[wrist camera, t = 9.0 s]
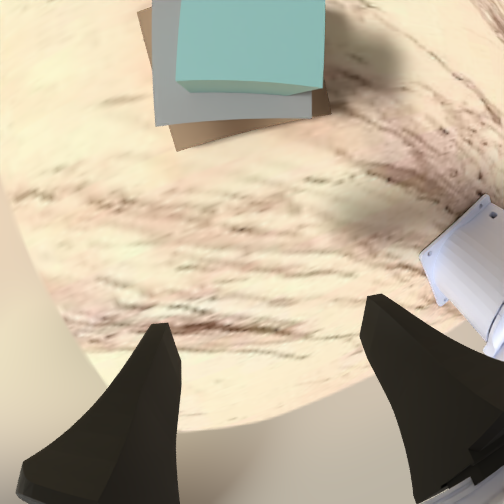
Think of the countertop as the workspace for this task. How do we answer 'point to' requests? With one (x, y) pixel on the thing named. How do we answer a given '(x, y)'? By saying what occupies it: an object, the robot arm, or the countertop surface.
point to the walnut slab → (218, 129)
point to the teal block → (251, 46)
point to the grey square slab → (206, 103)
